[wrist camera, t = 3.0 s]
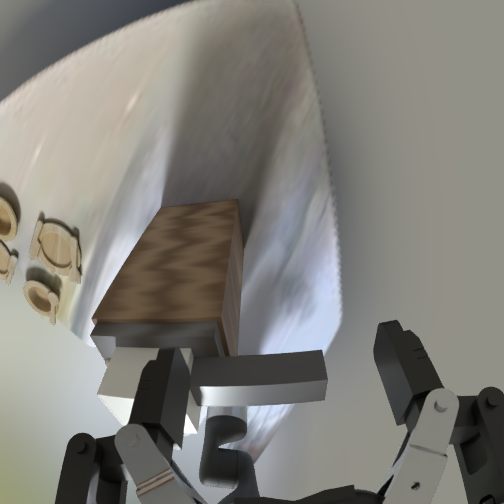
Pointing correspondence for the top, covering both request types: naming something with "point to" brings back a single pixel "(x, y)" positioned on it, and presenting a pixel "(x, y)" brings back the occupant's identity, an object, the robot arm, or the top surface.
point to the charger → (220, 380)
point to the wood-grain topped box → (178, 285)
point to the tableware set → (50, 253)
